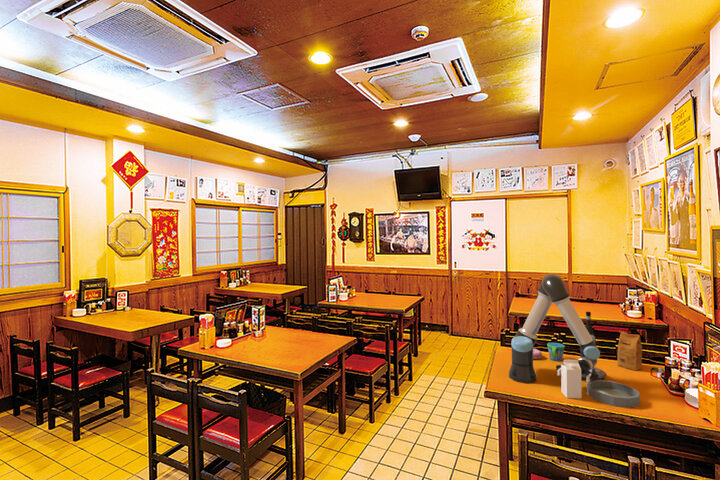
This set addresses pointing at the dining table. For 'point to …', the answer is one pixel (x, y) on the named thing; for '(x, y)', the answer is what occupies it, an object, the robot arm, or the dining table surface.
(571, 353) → the dining table surface
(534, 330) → the robot arm
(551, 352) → the snack cup
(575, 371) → the milk carton
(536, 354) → the donut
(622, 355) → the coffee package
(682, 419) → the dining table surface
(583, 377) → the plant saucer
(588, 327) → the wine bottle
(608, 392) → the bowl
